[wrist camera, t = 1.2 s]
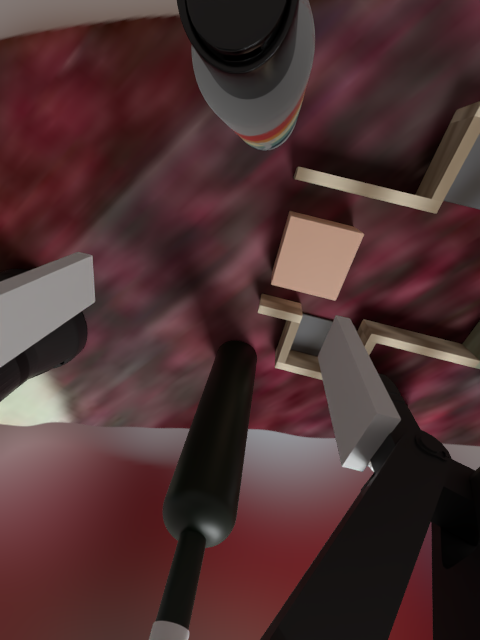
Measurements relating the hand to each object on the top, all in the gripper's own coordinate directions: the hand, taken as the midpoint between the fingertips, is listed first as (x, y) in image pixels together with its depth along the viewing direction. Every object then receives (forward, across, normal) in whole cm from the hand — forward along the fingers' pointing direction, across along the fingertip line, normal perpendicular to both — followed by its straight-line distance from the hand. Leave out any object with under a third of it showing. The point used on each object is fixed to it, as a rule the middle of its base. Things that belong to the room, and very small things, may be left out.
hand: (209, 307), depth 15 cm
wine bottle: (+19, +2, -17) cm, 25 cm away
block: (+19, +8, 0) cm, 20 cm away
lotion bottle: (+19, 0, +11) cm, 22 cm away
